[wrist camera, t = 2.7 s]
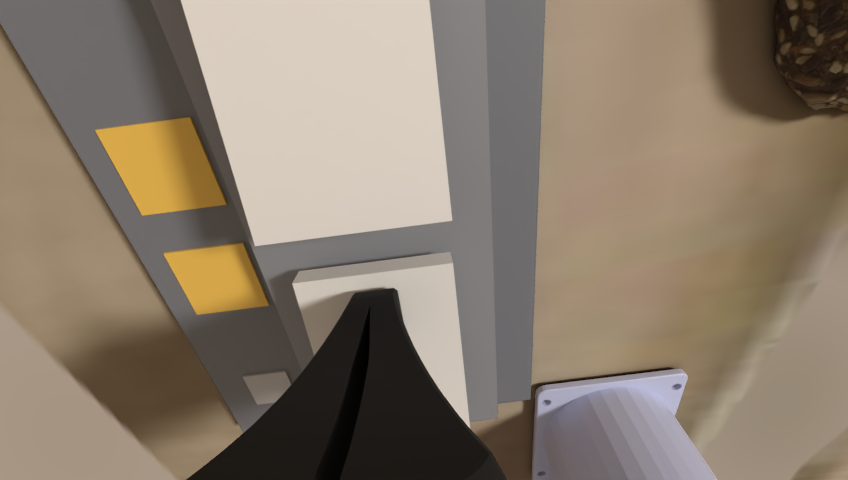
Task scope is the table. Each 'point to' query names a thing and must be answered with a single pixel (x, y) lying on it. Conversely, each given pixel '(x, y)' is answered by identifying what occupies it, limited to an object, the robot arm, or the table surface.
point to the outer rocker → (326, 112)
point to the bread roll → (814, 50)
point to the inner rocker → (420, 304)
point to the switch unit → (280, 263)
